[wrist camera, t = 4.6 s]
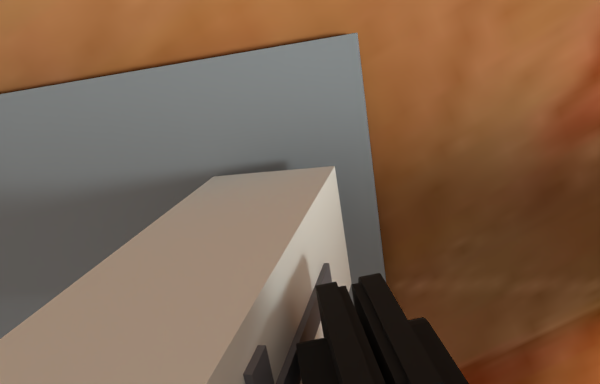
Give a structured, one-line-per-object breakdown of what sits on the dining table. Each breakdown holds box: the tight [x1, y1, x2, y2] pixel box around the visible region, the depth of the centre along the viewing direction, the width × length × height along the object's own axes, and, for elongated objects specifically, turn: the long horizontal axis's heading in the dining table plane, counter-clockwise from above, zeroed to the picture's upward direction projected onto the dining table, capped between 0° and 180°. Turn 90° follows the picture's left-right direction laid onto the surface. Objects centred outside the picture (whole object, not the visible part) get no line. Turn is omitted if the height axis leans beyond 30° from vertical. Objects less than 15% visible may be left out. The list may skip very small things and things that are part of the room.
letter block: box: [0, 166, 351, 384], centre depth 13 cm, size 5×5×12 cm
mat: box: [0, 33, 386, 339], centre depth 19 cm, size 18×14×1 cm
